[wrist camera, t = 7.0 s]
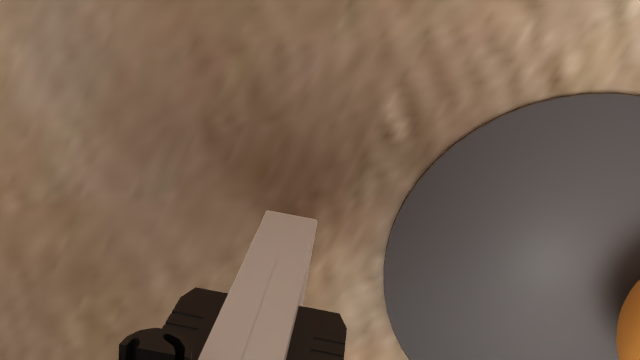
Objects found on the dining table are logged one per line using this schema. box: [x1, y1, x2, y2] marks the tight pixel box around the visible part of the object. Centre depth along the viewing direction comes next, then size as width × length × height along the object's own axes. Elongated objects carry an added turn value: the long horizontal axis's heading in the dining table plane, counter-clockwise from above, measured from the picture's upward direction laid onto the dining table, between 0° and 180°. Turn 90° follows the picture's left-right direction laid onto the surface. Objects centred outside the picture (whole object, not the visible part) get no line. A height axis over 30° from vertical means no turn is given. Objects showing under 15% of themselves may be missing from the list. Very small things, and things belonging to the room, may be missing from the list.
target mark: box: [384, 93, 640, 360], centre depth 18 cm, size 12×12×1 cm
